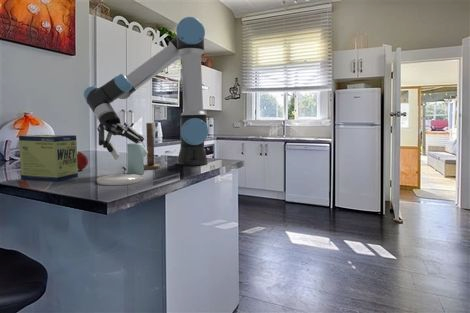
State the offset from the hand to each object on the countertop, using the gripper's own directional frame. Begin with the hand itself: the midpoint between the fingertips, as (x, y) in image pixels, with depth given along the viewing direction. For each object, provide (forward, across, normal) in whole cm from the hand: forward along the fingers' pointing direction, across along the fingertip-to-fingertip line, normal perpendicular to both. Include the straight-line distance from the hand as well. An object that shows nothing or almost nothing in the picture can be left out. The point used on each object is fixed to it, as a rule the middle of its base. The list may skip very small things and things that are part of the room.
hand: (132, 156), depth 124 cm
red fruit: (-13, +6, -23) cm, 27 cm away
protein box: (-7, +23, -17) cm, 30 cm away
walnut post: (0, -15, -10) cm, 18 cm away
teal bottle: (+6, -1, -4) cm, 7 cm away
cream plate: (+11, +12, +1) cm, 16 cm away
